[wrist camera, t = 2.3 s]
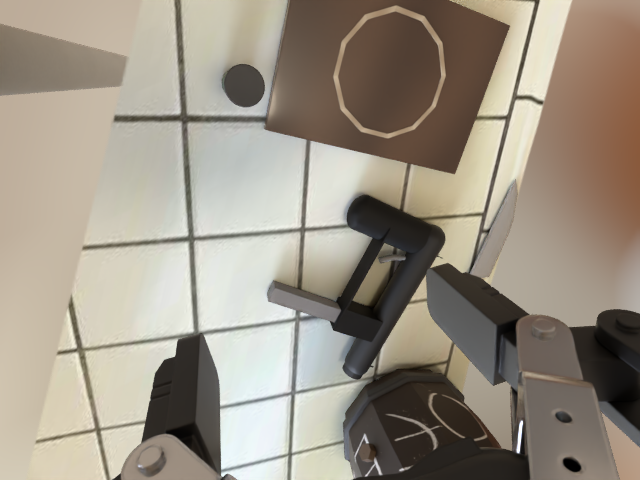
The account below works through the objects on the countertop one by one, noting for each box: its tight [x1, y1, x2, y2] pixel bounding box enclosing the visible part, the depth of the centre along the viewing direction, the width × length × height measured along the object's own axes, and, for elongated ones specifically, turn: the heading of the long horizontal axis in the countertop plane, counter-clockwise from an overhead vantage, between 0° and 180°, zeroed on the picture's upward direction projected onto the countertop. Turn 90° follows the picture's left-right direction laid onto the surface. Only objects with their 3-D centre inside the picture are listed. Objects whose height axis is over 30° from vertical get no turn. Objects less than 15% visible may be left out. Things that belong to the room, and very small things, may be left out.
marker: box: [222, 64, 265, 107], centre depth 26 cm, size 2×2×11 cm
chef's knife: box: [470, 179, 517, 278], centre depth 45 cm, size 19×1×3 cm
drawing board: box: [264, 0, 510, 174], centre depth 34 cm, size 20×14×1 cm
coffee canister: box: [343, 369, 502, 479], centre depth 45 cm, size 18×18×16 cm
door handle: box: [267, 195, 445, 379], centre depth 41 cm, size 3×20×16 cm
